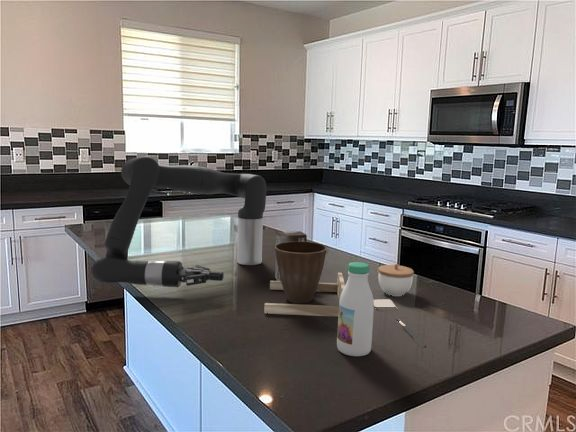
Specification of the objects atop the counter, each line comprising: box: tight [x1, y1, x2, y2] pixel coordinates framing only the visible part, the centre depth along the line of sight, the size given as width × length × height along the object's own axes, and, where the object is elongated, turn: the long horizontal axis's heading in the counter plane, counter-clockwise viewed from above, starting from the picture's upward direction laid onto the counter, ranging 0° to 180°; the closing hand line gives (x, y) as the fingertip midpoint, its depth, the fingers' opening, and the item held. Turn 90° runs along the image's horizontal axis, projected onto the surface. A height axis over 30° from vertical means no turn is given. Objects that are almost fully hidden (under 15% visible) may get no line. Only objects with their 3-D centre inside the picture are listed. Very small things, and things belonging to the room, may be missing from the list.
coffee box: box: [274, 231, 308, 281], centre depth 153 cm, size 9×6×16 cm
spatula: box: [373, 298, 423, 345], centre depth 121 cm, size 6×29×2 cm, turn 9°
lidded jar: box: [377, 263, 415, 297], centre depth 143 cm, size 11×11×9 cm
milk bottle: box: [336, 261, 375, 357], centre depth 103 cm, size 8×8×20 cm
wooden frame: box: [263, 272, 346, 317], centre depth 134 cm, size 21×22×6 cm
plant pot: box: [274, 241, 328, 305], centre depth 134 cm, size 15×15×16 cm
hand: (223, 276), depth 134 cm, fingers closed
